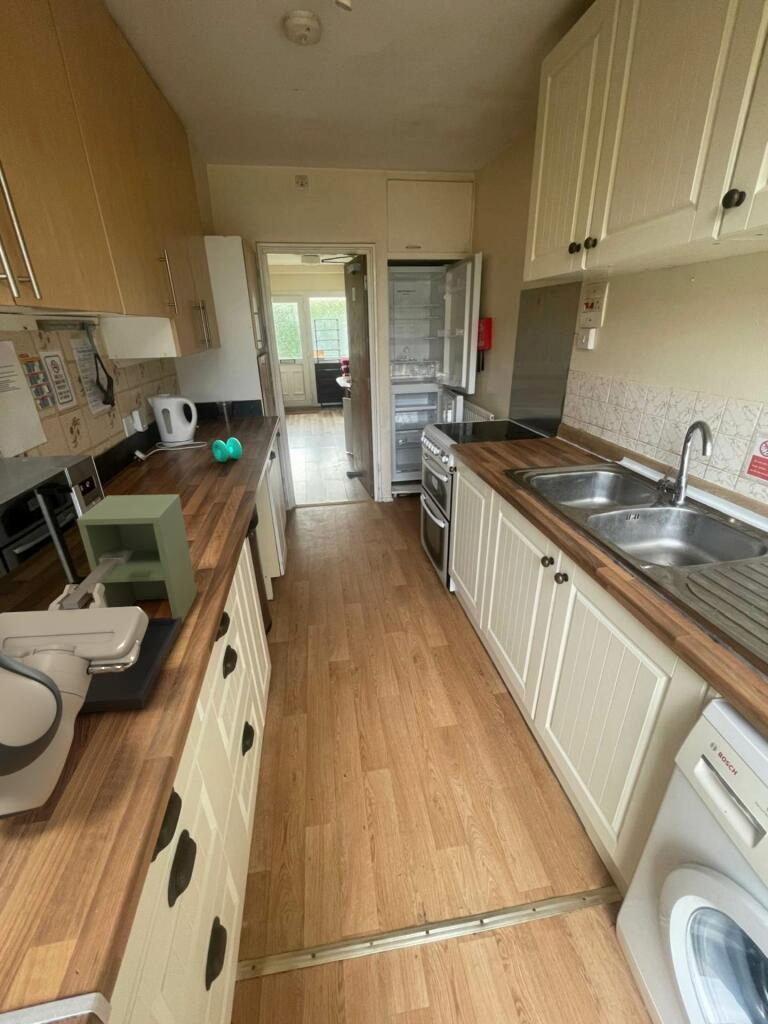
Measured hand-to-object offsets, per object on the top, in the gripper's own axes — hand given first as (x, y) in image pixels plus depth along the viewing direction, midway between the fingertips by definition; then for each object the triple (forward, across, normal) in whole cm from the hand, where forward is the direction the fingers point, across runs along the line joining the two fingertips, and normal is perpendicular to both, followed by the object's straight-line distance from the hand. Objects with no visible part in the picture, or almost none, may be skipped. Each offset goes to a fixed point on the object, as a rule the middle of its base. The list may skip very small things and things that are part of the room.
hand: (86, 585), depth 67 cm
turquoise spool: (+108, +9, +85) cm, 138 cm away
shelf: (+8, 0, +27) cm, 28 cm away
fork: (+2, 0, +2) cm, 3 cm away
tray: (-6, 0, +19) cm, 20 cm away
